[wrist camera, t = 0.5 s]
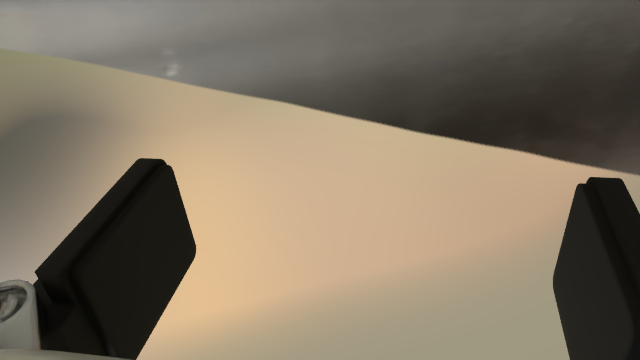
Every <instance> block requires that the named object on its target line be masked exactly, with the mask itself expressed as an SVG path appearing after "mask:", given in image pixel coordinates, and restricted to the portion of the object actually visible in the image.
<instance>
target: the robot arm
mask: <svg viewBox="0 0 640 360" xmlns="http://www.w3.org/2000/svg"><path fill="white" fill-rule="evenodd" d="M195 254H196V244H195V241H194V238H193V234H192V231H191V228H190V224H189V221H188V218H187V214H186V211H185V208H184V205H183V201H182V198H181V195H180V191H179V188H178V185H177V181H176V178H175V175H174V172H173V169H172V167H171V166H169V165H167V164H166V162H165V161H164V160H162V159H147V158H146V159H144V158H141V159H138V160H137V161H136V162H135V163H134V164H133V165H132V166H131V167H130V168H129V169H128V171H127V172H126V173H125V174H124V175H123V176H122V177H121V178H120V179H119V180H118V181H117V183H116V184H115V185H114V186H113V187H112V188H111V189H110V190H109V191H108V192H107V193H106V194H105V196H104V197H103V198H102V199H101V200H100V201H99V202H98V203H97V204H96V205H95V206H94V208H93V209H92V210H91V211H90V212H89V213H88V214H87V215H86V216H85V217H84V218H83V220H82V221H81V222H80V223H79V224H78V225H77V226H76V227H75V228H74V229H73V230H72V232H71V233H70V234H69V235H68V236H67V237H66V238H65V239H64V240H63V241H62V242H61V244H60V245H59V246H58V247H57V248H56V249H55V250H54V251H53V252H52V253H51V254H50V256H49V257H48V258H47V259H46V260H45V261H44V262H43V263H42V264H41V265H40V266H39V268H38V269H37V270H36V271H35V273H36V275H37V277H38V280H37V281H36V282H35V283H34V284H33V285H32V284H31V283H29V282H28V281H23V280H10V281H6V282H2V283H0V360H136V359H137V357H138V355H139V354H140V352H141V350H142V348H143V346H144V345H145V343H146V341H147V340H148V338H149V336H150V335H151V333H152V331H153V329H154V328H155V326H156V324H157V322H158V321H159V319H160V317H161V315H162V313H163V312H164V310H165V308H166V307H167V305H168V303H169V301H170V300H171V298H172V296H173V295H174V293H175V291H176V289H177V287H178V286H179V284H180V282H181V281H182V279H183V277H184V275H185V274H186V272H187V270H188V269H189V267H190V265H191V263H192V262H193V260H194V258H195ZM553 289H554V294H555V298H556V302H557V307H558V311H559V314H560V319H561V324H562V327H563V332H564V336H565V340H566V345H567V348H568V353H569V357H570V360H640V214H639V212H638V210H637V208H636V206H635V204H634V202H633V200H632V198H631V196H630V194H629V192H628V190H627V188H626V186H625V184H624V182H623V181H622V179H620V178H600V177H590V178H589V179H588V180H587V182H586V184H578V185H577V187H576V191H575V194H574V198H573V202H572V206H571V210H570V213H569V217H568V221H567V225H566V229H565V232H564V236H563V240H562V244H561V248H560V252H559V256H558V260H557V264H556V267H555V271H554V276H553Z"/></svg>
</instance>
